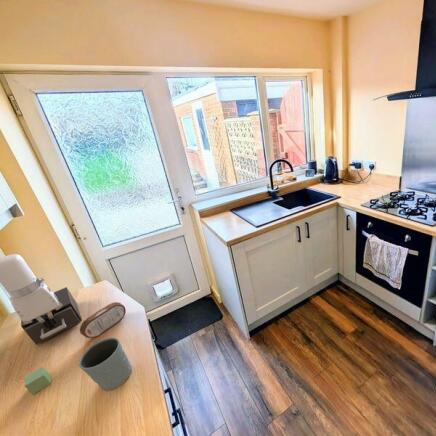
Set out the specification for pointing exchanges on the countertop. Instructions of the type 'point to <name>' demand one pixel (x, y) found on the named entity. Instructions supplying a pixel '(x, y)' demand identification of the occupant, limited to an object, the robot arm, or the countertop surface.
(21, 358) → the countertop surface
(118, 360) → the grey green cup
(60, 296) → the small drawer box
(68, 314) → the dark grey sliding drawer
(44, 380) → the cube
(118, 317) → the tin
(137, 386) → the countertop surface
